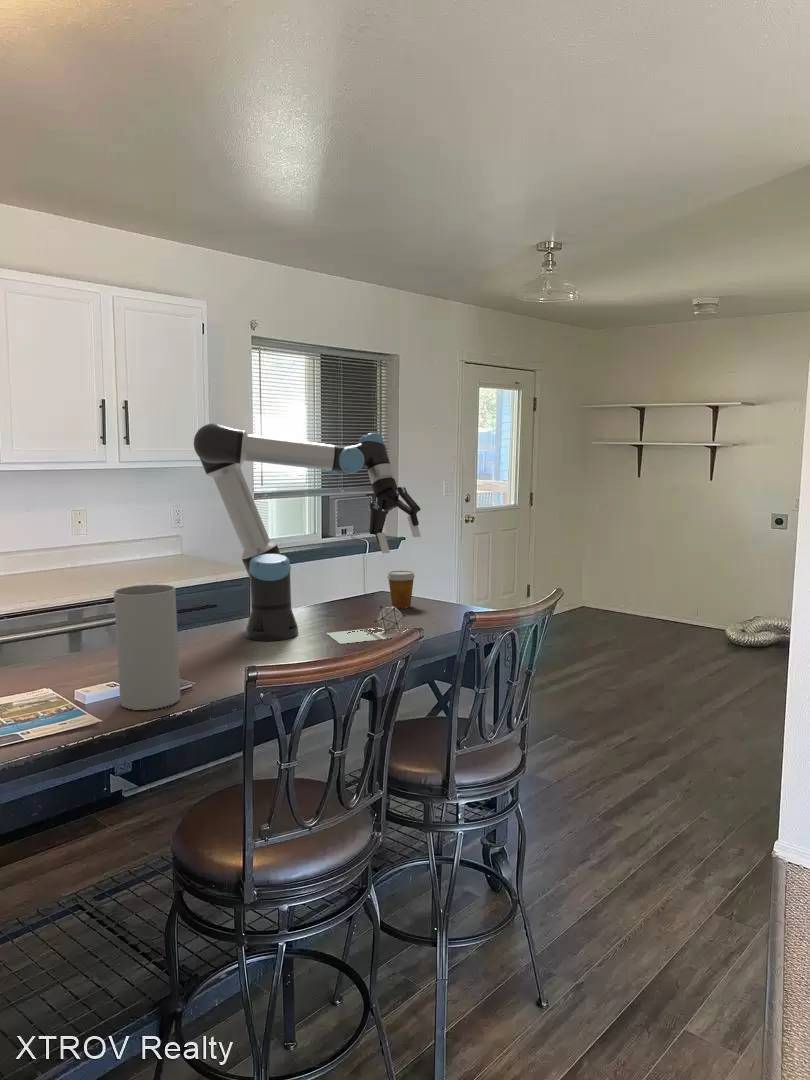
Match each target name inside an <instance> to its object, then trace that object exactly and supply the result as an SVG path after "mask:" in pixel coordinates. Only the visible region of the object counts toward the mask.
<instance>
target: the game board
mask: <svg viewBox="0 0 810 1080" xmlns="http://www.w3.org/2000/svg"><path fill="white" fill-rule="evenodd" d="M373 628H374V627H373ZM373 628H361V629H352V630H351V631H350V630H343V631H333V632H326V633H325V634H326V635H327V636H328V635H329V636H328V637H329V638H331V639H332V640H334V641H335V642H336V643H338V644H339V645H348V644H347V643H349V644H357V643H356V642H358V643H365V642H364V641H367V642H374V641H382V640H383V641H384V640H391V639H390V638H392V637H394V636H396V635H398V632H399V631H397V632H394V631H393V632H394V633H392V631H390V632H389V633H385V631H382V632H377V633H374V632H373V633H372V634H370V633H371V632H372V631H371V632H369V631H368V630H369V629H371V630H375V629H373ZM377 628H378V629H382V628H379V627H377ZM366 629H368V630H366ZM360 630H363V631H360ZM365 630H366V631H367V632H366V631H365ZM382 630H384V629H382ZM407 630H408V628H407ZM352 631H355V632H352ZM357 631H358V632H357ZM364 631H365V632H364ZM405 631H406V630H405ZM405 631H403V632H405ZM348 632H351V633H348ZM403 632H401V633H403ZM347 633H348V634H347ZM368 633H369V634H368ZM401 633H399V634H401ZM367 634H368V635H367ZM387 638H388V639H387Z"/></svg>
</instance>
